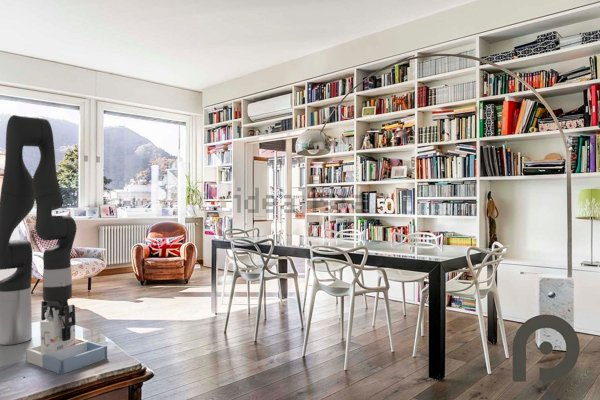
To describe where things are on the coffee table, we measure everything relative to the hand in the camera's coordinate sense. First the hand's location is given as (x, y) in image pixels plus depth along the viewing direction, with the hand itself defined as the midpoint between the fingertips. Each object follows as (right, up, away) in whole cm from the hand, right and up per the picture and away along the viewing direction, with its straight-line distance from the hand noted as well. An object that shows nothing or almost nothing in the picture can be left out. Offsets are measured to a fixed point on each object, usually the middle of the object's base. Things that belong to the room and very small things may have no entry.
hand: (58, 337), depth 128 cm
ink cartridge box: (0, -6, 0) cm, 6 cm away
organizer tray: (+4, -6, -2) cm, 7 cm away
